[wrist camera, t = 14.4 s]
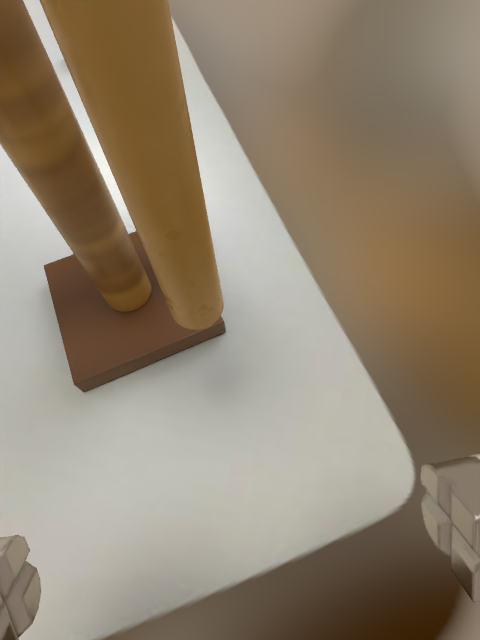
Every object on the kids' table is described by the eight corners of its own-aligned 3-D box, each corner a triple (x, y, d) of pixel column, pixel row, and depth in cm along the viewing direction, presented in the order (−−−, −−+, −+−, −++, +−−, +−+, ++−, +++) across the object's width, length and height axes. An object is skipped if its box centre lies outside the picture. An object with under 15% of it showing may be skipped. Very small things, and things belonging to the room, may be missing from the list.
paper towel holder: (226, 332, 28) (51, -561, 5) (83, 392, 26) (-1011, -492, 4) (176, 230, 32) (-31, -479, 10) (52, 277, 31) (-524, -433, 8)
